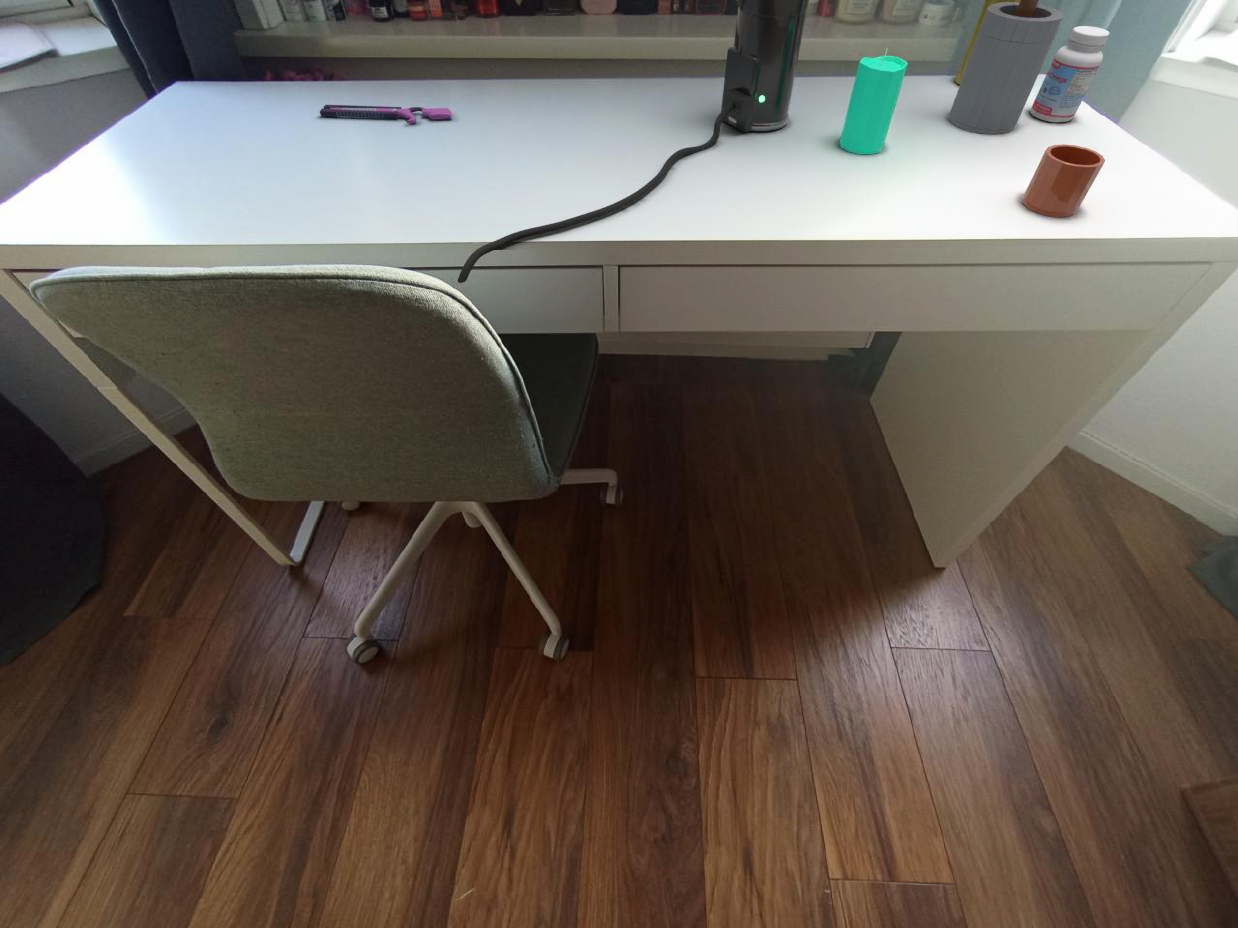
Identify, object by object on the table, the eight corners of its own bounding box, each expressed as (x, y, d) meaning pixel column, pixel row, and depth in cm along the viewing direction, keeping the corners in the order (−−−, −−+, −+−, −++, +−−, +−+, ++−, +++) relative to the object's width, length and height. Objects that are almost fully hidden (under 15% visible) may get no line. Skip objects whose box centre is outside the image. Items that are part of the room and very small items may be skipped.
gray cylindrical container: (986, 139, 92) (1033, 25, 81) (935, 117, 97) (973, 8, 87) (1028, 126, 95) (1078, 14, 84) (976, 106, 100) (1017, -1, 90)
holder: (1056, 222, 76) (1083, 171, 71) (1011, 201, 79) (1034, 151, 75) (1087, 209, 78) (1116, 159, 73) (1042, 189, 81) (1067, 140, 77)
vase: (995, 90, 105) (1038, -16, 94) (956, 88, 106) (994, -18, 95) (989, 78, 109) (1029, -25, 98) (951, 75, 110) (987, -27, 99)
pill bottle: (1021, 109, 99) (1058, 25, 91) (1058, 108, 100) (1099, 23, 91) (1042, 124, 95) (1082, 37, 87) (1080, 123, 96) (1125, 36, 87)
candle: (884, 140, 92) (912, 44, 83) (881, 157, 88) (910, 58, 79) (841, 135, 93) (865, 39, 84) (837, 151, 89) (861, 53, 80)
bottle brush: (994, 102, 91) (1067, -78, 77) (971, 93, 94) (1038, -83, 79) (1012, 97, 93) (1087, -81, 78) (989, 89, 95) (1058, -86, 80)
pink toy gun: (455, 106, 98) (447, 120, 95) (456, 112, 98) (448, 127, 95) (326, 101, 99) (314, 115, 96) (328, 108, 100) (316, 122, 97)
